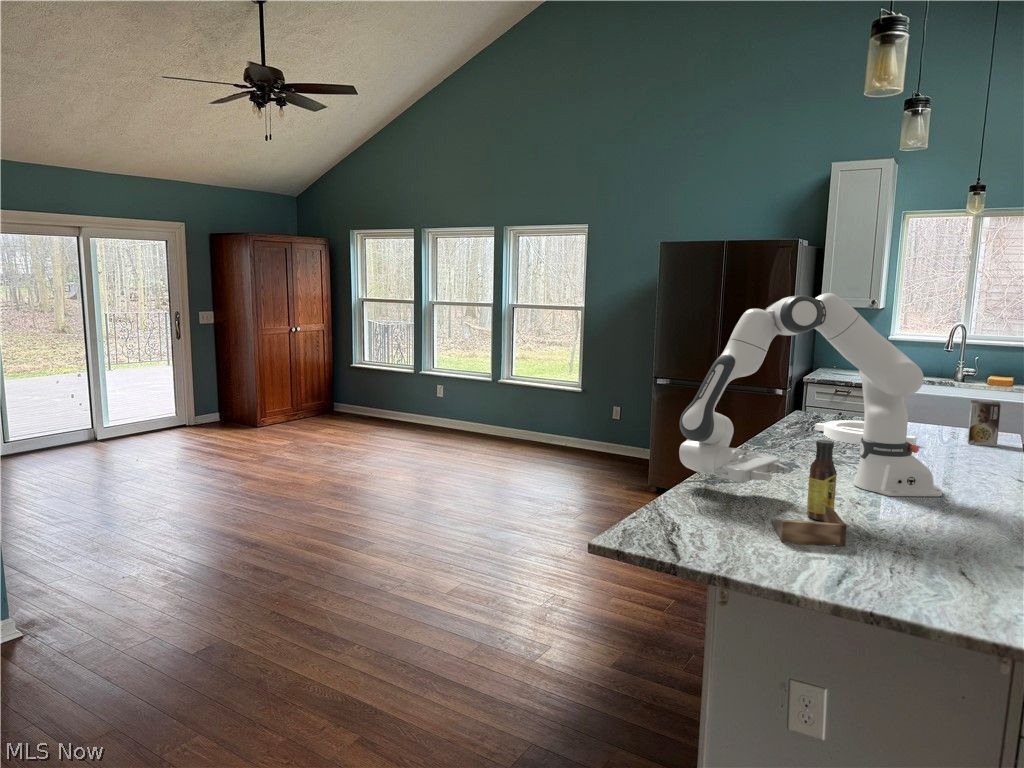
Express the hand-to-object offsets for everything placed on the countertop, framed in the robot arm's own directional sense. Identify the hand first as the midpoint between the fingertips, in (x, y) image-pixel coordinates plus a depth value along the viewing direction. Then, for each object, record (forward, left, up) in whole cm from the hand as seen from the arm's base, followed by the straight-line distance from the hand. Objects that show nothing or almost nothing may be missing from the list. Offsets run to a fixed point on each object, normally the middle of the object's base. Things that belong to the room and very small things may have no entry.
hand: (779, 474), depth 178 cm
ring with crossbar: (-48, -94, -10) cm, 106 cm away
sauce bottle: (-9, +7, -9) cm, 15 cm away
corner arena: (-3, +20, -9) cm, 22 cm away
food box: (-89, -93, -9) cm, 129 cm away
